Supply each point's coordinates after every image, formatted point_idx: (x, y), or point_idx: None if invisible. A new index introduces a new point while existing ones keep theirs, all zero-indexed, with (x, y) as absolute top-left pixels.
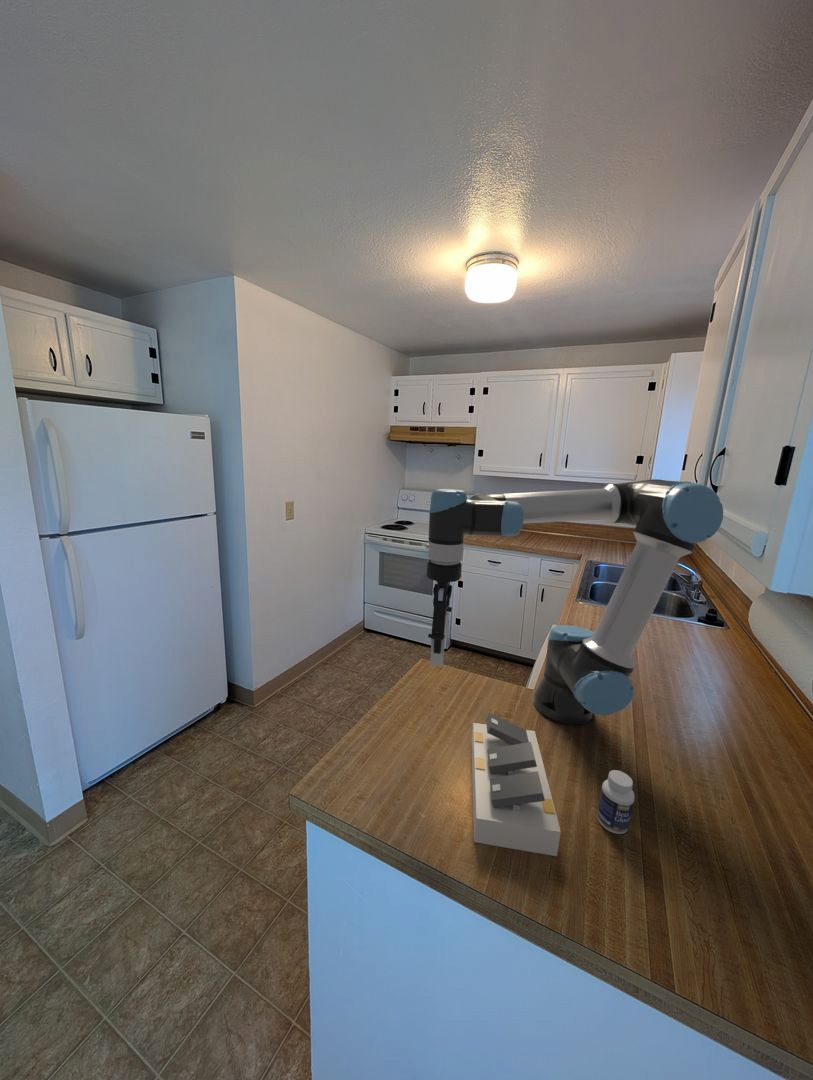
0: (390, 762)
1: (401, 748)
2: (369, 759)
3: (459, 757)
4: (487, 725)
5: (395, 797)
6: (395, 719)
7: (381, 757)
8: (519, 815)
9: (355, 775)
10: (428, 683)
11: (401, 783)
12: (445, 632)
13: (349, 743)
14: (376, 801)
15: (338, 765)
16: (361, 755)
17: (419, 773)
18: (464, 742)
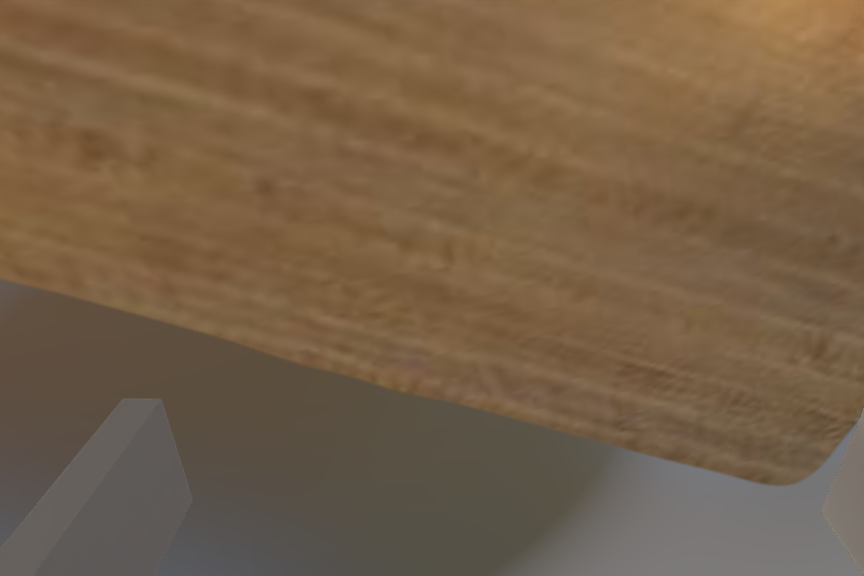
0: (656, 294)
1: (577, 270)
2: (648, 360)
3: (598, 23)
4: None
5: (824, 250)
6: (412, 319)
7: (634, 327)
8: None
9: (724, 382)
10: (92, 225)
11: (759, 242)
12: (121, 482)
13: (578, 429)
14: (838, 303)
15: (683, 434)
16: (631, 386)
17: (707, 186)
18: (489, 4)
